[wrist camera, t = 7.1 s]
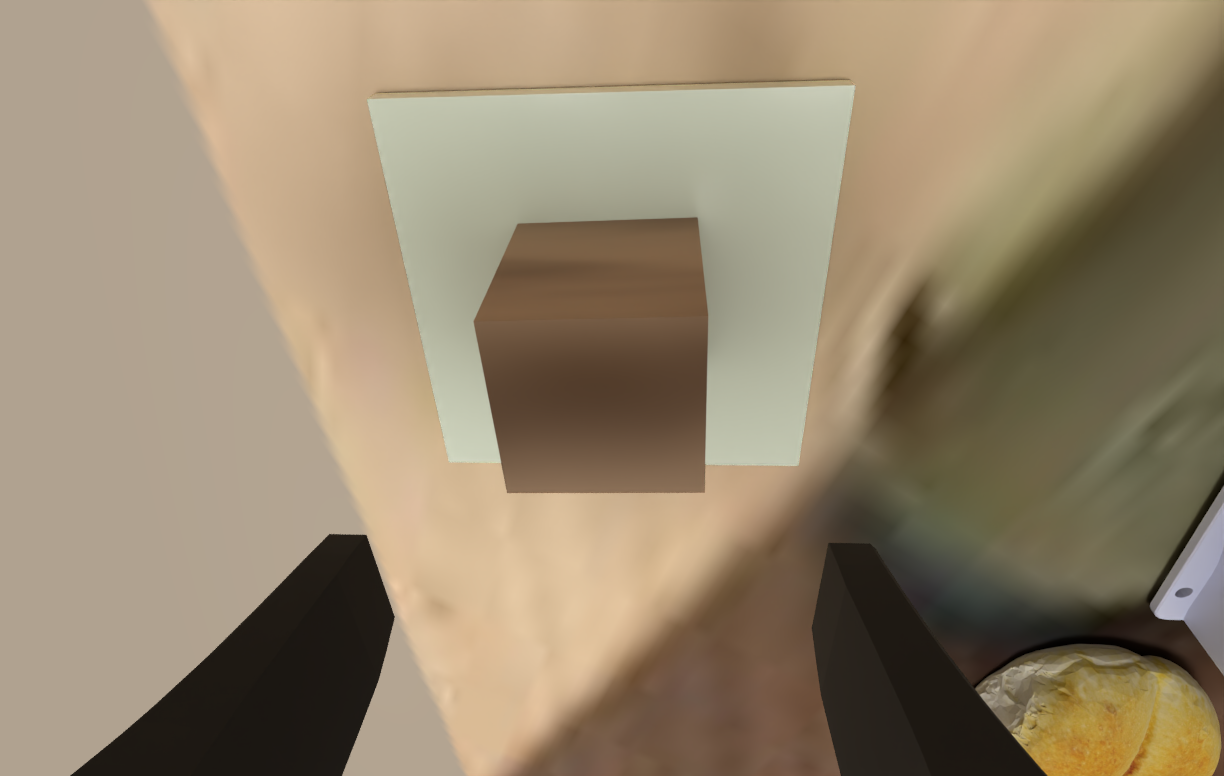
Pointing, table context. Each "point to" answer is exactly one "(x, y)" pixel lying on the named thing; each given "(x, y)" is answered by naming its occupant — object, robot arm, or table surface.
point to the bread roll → (1105, 713)
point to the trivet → (627, 190)
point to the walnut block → (598, 357)
